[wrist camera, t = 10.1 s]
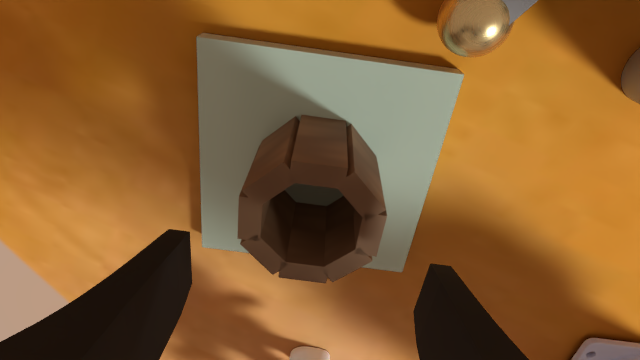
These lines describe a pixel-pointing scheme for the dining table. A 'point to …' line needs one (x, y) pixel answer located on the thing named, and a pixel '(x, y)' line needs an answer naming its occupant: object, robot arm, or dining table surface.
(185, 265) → the robot arm
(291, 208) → the napkin ring
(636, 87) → the post inner
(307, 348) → the hat wearing toy figure
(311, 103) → the pad
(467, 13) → the rail
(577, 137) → the dining table surface
